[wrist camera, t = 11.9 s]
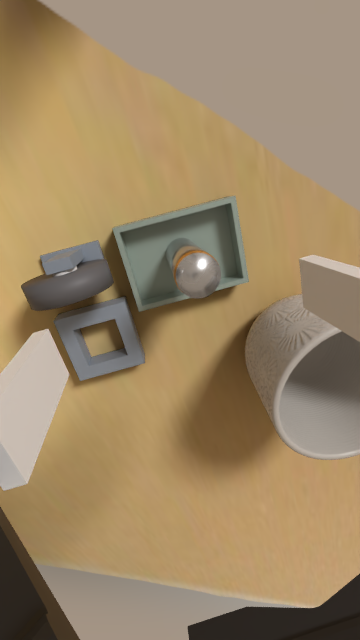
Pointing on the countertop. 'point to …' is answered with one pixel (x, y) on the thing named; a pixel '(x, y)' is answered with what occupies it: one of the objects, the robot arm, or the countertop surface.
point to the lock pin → (193, 268)
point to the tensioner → (76, 285)
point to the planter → (306, 379)
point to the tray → (159, 231)
